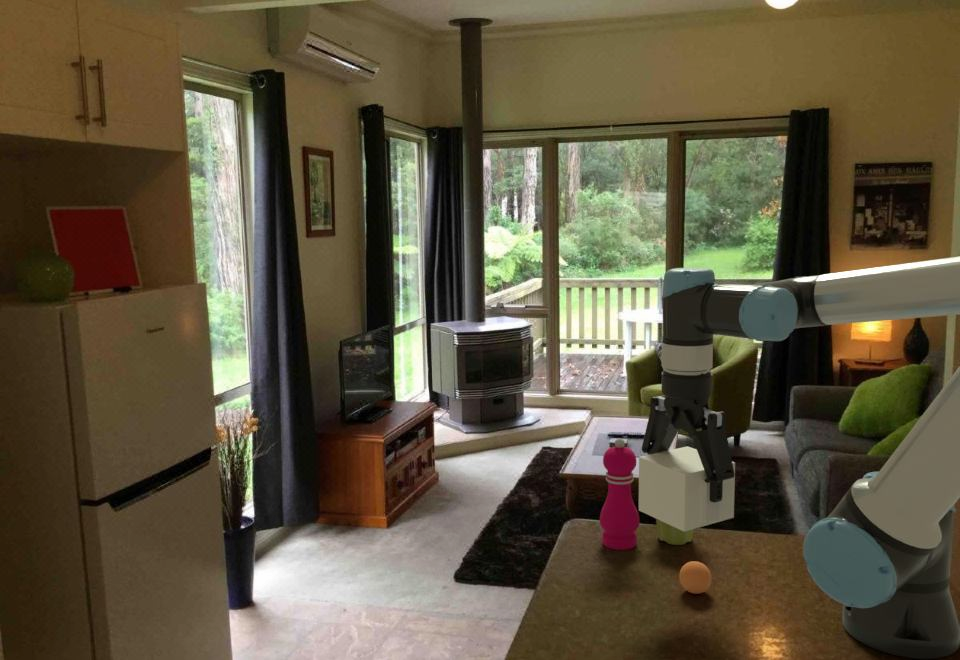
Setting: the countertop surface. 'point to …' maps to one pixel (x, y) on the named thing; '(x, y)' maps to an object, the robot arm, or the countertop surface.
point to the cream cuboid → (679, 489)
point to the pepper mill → (619, 499)
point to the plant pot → (673, 534)
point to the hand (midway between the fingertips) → (684, 509)
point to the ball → (695, 577)
